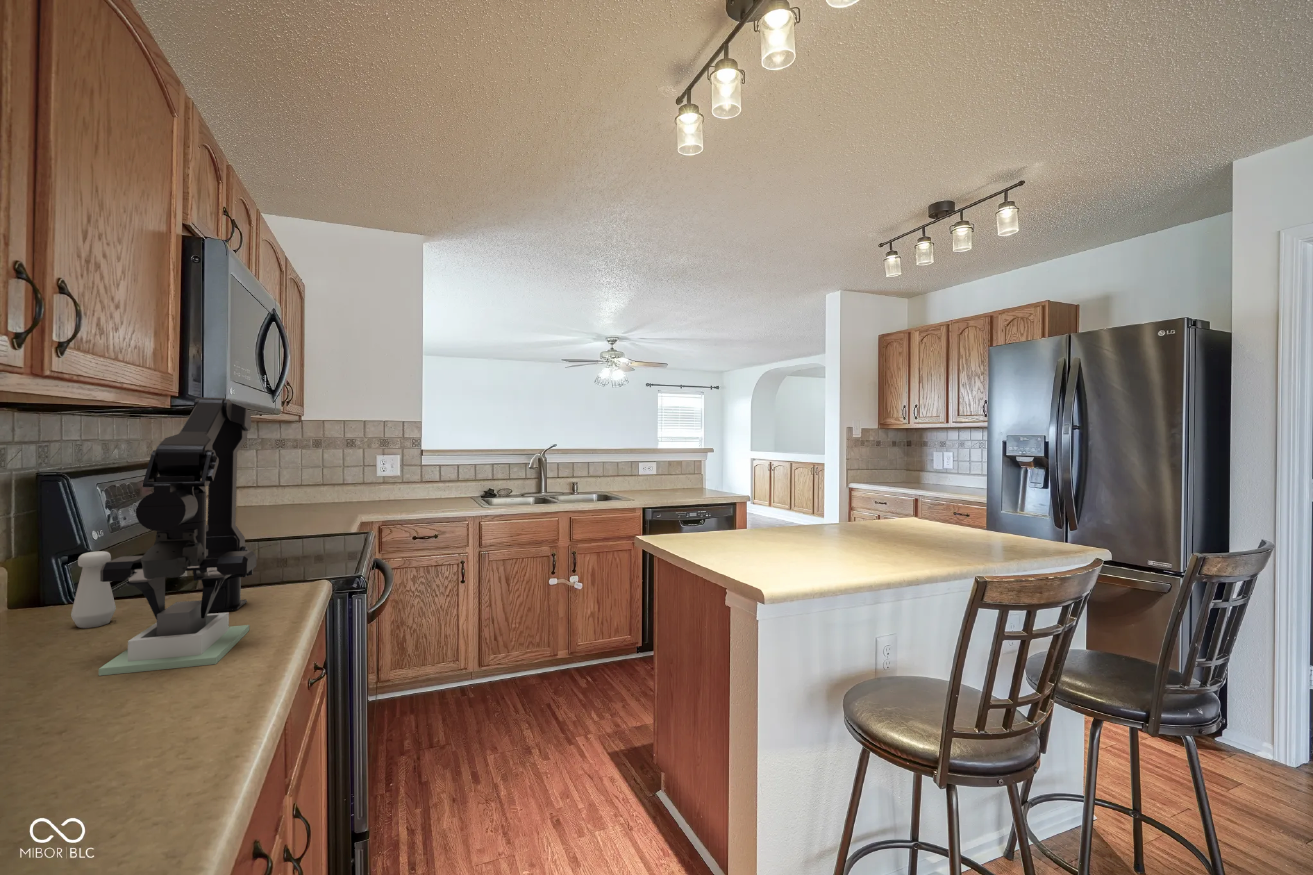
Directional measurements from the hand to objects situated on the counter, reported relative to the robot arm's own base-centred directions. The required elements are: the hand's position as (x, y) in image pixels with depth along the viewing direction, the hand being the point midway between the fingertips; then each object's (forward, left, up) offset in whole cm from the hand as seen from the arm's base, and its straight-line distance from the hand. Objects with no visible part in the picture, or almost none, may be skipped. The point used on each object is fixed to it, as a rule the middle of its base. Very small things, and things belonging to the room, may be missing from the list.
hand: (182, 619), depth 93 cm
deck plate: (0, 0, -5) cm, 5 cm away
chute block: (0, 0, -4) cm, 4 cm away
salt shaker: (-20, -20, -5) cm, 29 cm away
